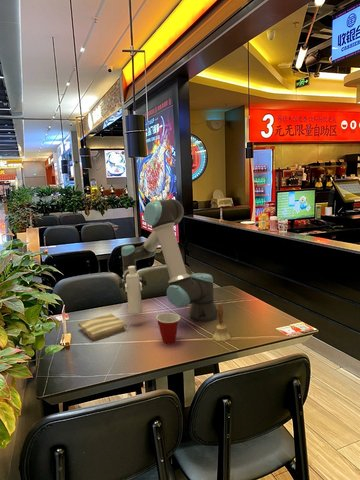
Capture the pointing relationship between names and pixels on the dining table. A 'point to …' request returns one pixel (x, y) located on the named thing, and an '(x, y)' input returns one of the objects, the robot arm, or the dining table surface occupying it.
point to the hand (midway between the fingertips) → (133, 288)
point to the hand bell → (221, 327)
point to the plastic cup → (168, 326)
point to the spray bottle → (133, 291)
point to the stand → (102, 326)
